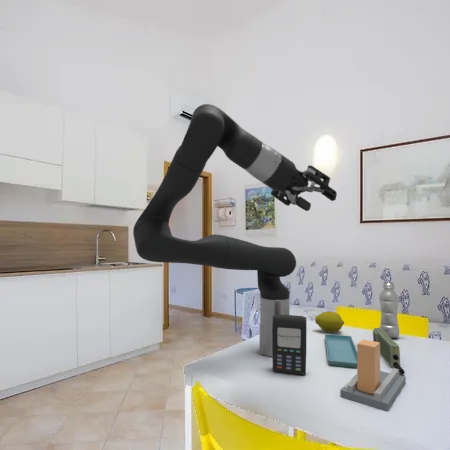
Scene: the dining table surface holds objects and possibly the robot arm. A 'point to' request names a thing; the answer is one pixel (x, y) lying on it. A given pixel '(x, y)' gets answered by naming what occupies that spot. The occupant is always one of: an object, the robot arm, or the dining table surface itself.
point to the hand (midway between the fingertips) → (321, 202)
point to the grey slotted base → (382, 395)
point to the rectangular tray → (341, 351)
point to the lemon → (329, 321)
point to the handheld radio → (388, 349)
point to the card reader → (289, 344)
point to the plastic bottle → (389, 310)
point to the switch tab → (368, 366)
